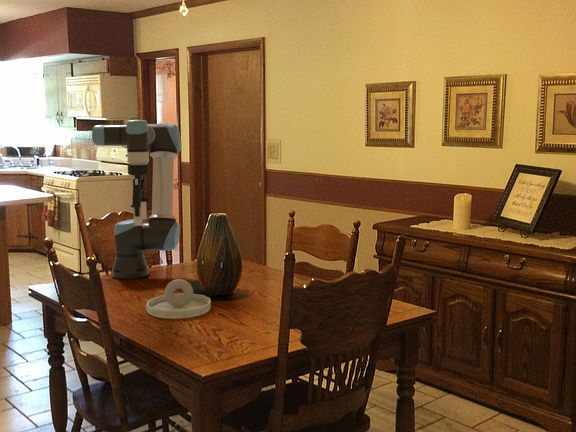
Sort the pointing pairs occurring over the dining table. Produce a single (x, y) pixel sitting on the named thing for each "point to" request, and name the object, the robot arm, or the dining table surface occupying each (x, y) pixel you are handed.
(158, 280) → the dining table surface
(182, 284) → the donut
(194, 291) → the dark slate chunk
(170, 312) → the dish
